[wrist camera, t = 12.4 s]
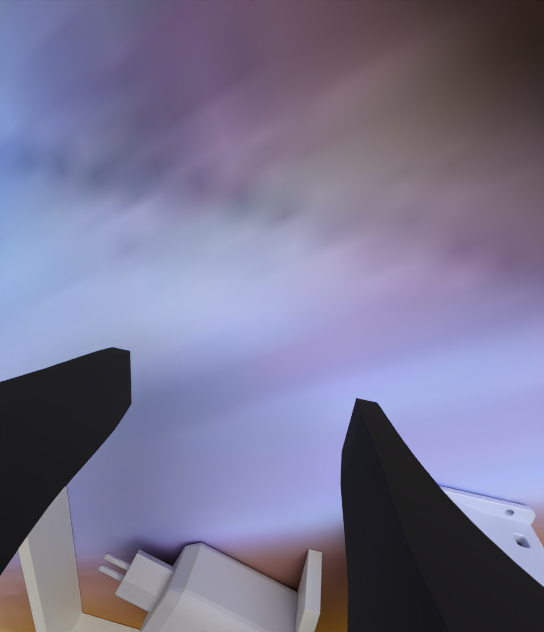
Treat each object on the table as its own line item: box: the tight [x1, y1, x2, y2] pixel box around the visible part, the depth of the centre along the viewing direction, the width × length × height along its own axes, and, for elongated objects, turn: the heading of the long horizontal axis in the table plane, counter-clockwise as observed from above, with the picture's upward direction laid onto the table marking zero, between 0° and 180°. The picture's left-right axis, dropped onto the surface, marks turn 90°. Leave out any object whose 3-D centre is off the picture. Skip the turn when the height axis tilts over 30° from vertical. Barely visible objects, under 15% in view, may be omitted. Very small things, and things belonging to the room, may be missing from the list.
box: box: [18, 486, 322, 632], centre depth 29 cm, size 22×18×4 cm
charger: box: [99, 542, 298, 632], centre depth 28 cm, size 5×9×15 cm
